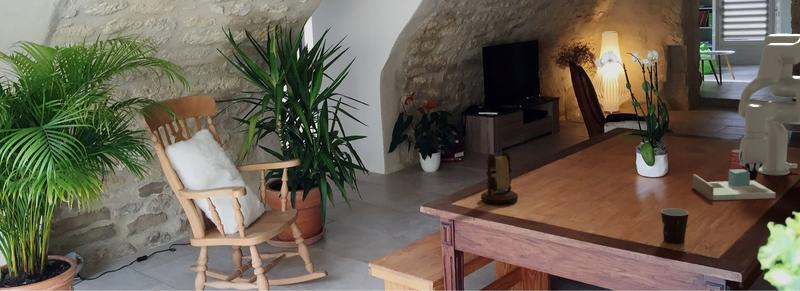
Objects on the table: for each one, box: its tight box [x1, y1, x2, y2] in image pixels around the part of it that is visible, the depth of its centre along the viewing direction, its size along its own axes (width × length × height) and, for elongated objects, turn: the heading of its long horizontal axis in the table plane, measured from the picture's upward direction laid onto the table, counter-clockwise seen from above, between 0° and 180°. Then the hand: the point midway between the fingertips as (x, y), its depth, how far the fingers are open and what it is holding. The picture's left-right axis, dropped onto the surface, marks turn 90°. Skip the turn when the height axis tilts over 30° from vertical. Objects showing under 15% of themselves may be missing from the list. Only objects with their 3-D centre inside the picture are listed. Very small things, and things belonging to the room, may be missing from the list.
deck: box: [692, 173, 777, 201], centre depth 319 cm, size 25×20×6 cm
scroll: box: [480, 151, 519, 206], centre depth 318 cm, size 15×15×20 cm
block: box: [728, 169, 751, 186], centre depth 323 cm, size 6×6×6 cm
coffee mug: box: [660, 207, 690, 245], centre depth 262 cm, size 12×9×10 cm
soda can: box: [729, 148, 748, 171], centre depth 335 cm, size 7×7×13 cm
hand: (752, 179), depth 323 cm, fingers closed
